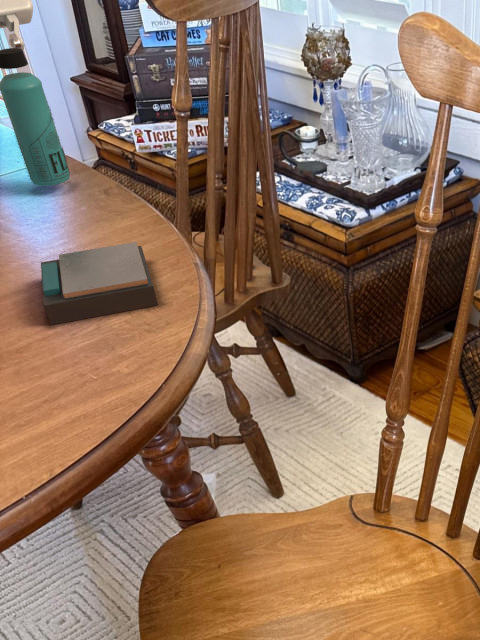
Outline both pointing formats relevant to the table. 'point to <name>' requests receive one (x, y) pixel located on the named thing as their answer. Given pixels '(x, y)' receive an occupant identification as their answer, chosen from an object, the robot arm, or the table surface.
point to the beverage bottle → (32, 122)
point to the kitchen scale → (96, 283)
